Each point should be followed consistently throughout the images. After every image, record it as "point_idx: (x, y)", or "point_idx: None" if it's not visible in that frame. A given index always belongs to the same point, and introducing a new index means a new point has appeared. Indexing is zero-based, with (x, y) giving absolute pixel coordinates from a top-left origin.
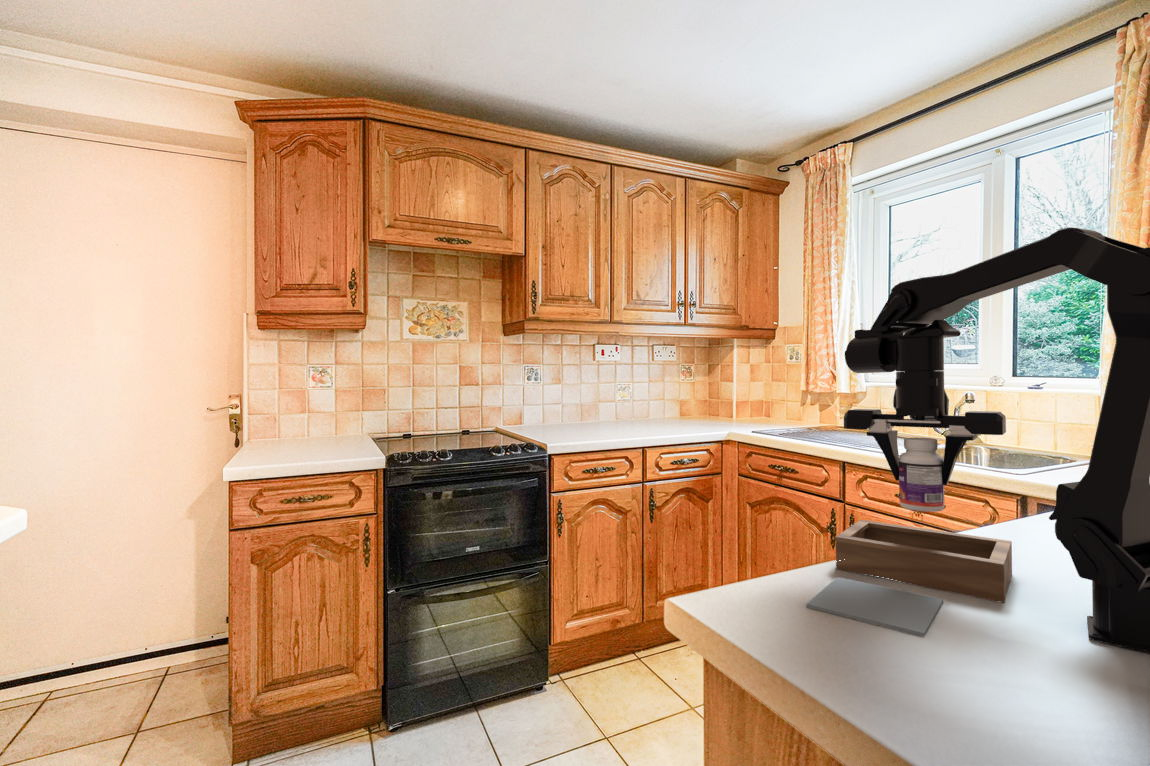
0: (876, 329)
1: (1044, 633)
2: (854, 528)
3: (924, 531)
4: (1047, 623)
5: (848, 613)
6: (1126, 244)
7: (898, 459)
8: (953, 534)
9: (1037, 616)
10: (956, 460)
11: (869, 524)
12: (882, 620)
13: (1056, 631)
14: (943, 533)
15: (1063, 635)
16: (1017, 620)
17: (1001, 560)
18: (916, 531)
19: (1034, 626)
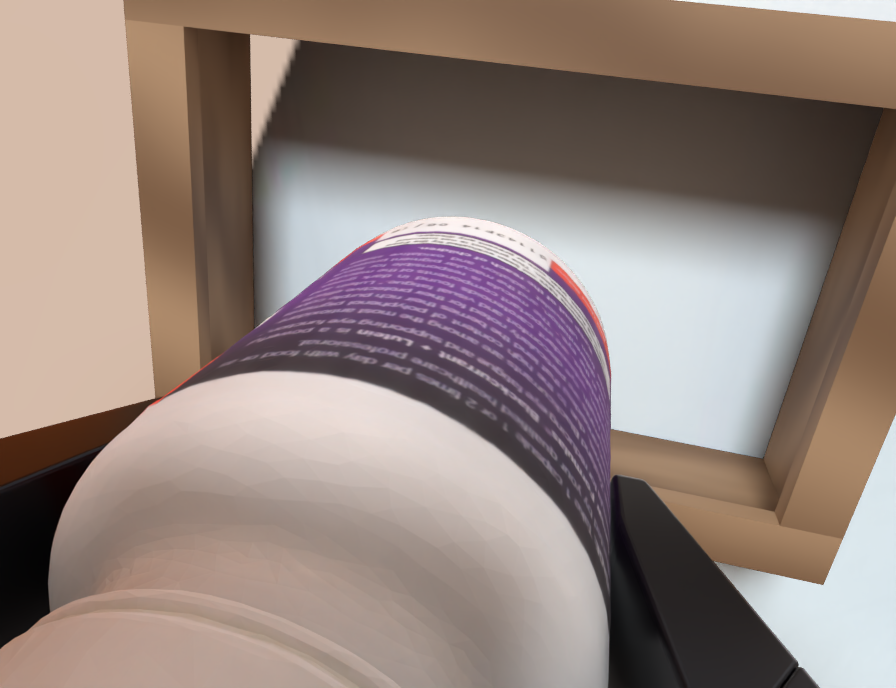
0: None
1: (833, 676)
2: (167, 230)
3: (503, 63)
4: (872, 605)
5: None
6: None
7: (62, 504)
8: (675, 59)
9: (860, 561)
10: (804, 680)
11: (193, 28)
12: None
13: (875, 653)
14: (614, 65)
15: (885, 673)
16: (783, 613)
17: (832, 527)
18: (458, 56)
19: (821, 639)
